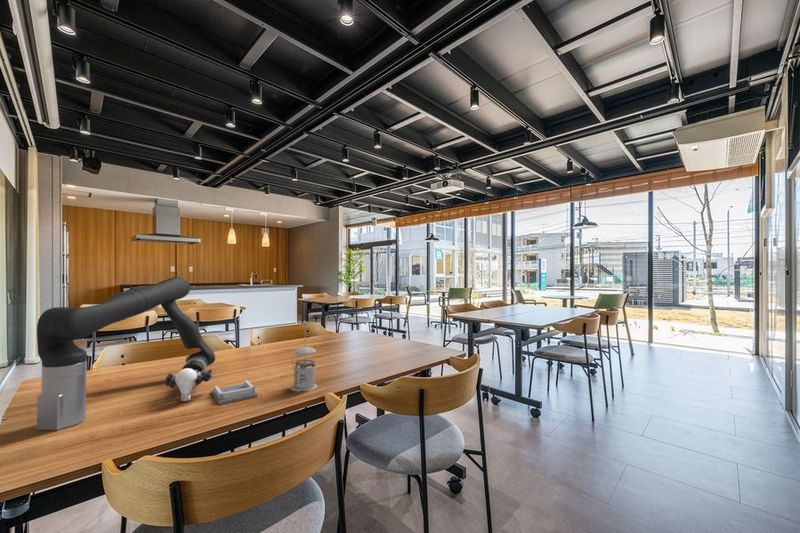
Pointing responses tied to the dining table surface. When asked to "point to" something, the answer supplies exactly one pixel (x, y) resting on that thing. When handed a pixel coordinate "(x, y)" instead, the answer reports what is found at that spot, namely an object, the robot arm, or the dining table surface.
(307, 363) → the french press
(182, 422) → the dining table surface
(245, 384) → the u holder
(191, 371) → the lightbulb
